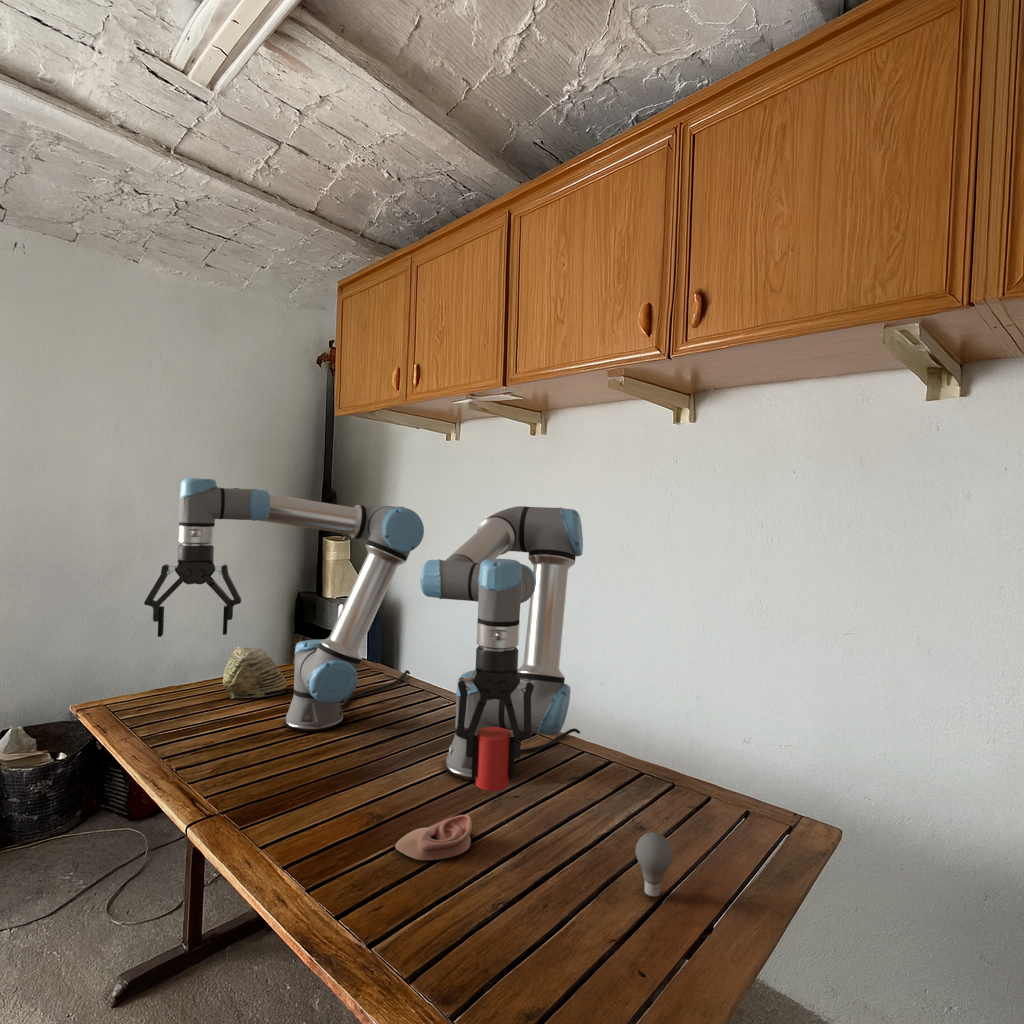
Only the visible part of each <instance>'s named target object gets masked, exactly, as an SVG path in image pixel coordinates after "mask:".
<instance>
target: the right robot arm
mask: <svg viewBox="0 0 1024 1024" xmlns="http://www.w3.org/2000/svg"><path fill="white" fill-rule="evenodd" d="M583 538H584V536H583V527H582V519H581V516H580V513H579V512H578V510H576V509H574V508H564V507H563V508H562V506H560V507H549V506H547V507H544V506H542V507H541V506H525V505H519V506H512V507H508V508H505V509H502V510H499V511H497V512H495V513H493V514H491V515H489V516H488V517H487V518H485V519H484V520H483V521H482V522H481V523H480V524H479V526H478V528H477V530H476V533H474V534H473V535H472V536H471V537H470V538H469V539H467V540H466V541H465V542H464V543H463V544H462V545H461V546H460V547H459V548H457V549H456V550H455V551H454V552H453V553H452V554H451V555H450V556H448V557H447V558H446V559H445V560H443V559H429V560H427V561H426V562H425V563H424V564H423V566H422V568H421V572H420V589H421V591H422V593H423V595H424V596H426V597H427V598H433V599H435V598H436V599H439V600H452V601H465V602H466V601H467V602H477V604H478V605H477V621H476V622H477V623H476V644H477V645H478V646H477V647H476V648H475V669H472V670H469V671H466V672H463V674H461V675H460V676H459V677H458V679H457V685H456V692H455V696H456V697H455V701H456V702H455V720H454V721H455V723H454V724H455V725H454V737H453V740H452V742H451V744H450V746H449V748H448V753H447V756H446V759H445V770H446V772H447V773H448V774H449V775H451V776H452V777H454V778H455V779H459V780H461V781H468V782H476V763H477V738H478V731H479V730H480V729H482V728H486V727H500V728H504V729H507V730H509V731H511V732H512V735H513V736H511V737H510V759H509V780H513V779H514V768H515V767H514V766H515V765H514V764H515V759H520V758H521V754H523V753H529V752H534V751H539V750H542V749H545V748H548V747H550V746H552V745H554V744H555V743H556V742H557V741H559V740H561V739H563V738H565V737H566V736H568V735H570V734H572V733H576V734H581V731H580V730H579V729H578V728H571V729H568V730H567V731H565V732H563V733H562V734H560V735H558V734H559V733H560V732H561V731H562V729H563V727H564V724H565V723H566V722H565V721H566V718H567V715H568V710H569V706H570V700H571V686H570V685H569V684H567V683H565V680H566V676H565V675H564V673H563V672H562V671H561V669H560V663H561V653H562V643H563V641H562V640H563V630H564V622H565V621H564V620H565V608H566V600H567V599H566V598H567V588H568V577H569V569H570V568H572V567H573V566H574V565H575V564H576V557H577V558H578V557H581V556H582V555H583V552H584V551H583V550H584V539H583ZM508 552H517V553H528V561H529V562H530V563H531V564H532V566H533V569H531V567H529V566H528V565H525V564H524V563H521V562H520V561H518V560H516V559H511V558H499V556H503V555H505V554H508ZM527 601H529V606H528V607H529V608H528V616H527V623H526V624H527V625H526V636H525V645H524V654H523V663H522V664H521V666H520V667H519V649H518V646H519V644H520V620H521V619H520V618H521V617H520V616H521V604H523V603H525V602H527ZM532 734H535V735H537V736H541V735H545V736H556V735H557V736H556V737H555V738H553V739H552V740H551V741H548V742H547V743H544V744H541V745H537V746H533V747H527V748H522V741H523V740H525V739H531V738H532Z"/></svg>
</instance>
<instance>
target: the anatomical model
mask: <svg viewBox="0 0 1024 1024" xmlns="http://www.w3.org/2000/svg"><path fill="white" fill-rule="evenodd" d="M472 830H473V821H472V818H471V816H470V815H469V814H459V815H456V816H452V817H450V818H447V819H444V820H442V821H440V822H437V823H436V824H435V823H434V824H433V825H431V826H429V827H420V828H417V829H413V830H412V831H409V832H408V833H406V834H405V835H403V836H402V837H401V838H400V839H399V840H397V842H396V843H395V845H394V848H395V849H396V851H398V852H400V853H401V854H403V855H405V856H406V857H408V858H412V859H414V860H417V861H436V860H437V861H438V860H444V859H450V858H453V857H456V856H459V855H462V854H463V853H464V852H467V851H468V850H469V848H470V847H471V844H472V839H471V833H472Z"/></svg>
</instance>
